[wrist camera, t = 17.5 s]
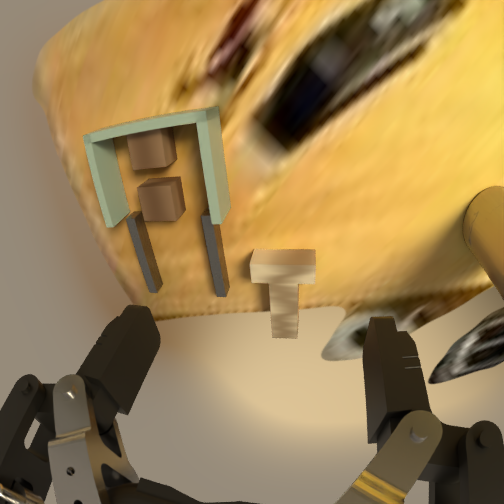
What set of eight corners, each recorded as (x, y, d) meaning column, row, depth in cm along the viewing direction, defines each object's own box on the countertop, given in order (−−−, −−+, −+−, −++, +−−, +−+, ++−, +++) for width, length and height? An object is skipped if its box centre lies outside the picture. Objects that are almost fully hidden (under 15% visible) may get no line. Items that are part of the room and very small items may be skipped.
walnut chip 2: (180, 176, 32) (170, 185, 29) (186, 209, 34) (176, 220, 31) (149, 178, 32) (137, 187, 30) (155, 209, 34) (144, 221, 32)
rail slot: (216, 207, 33) (211, 215, 31) (229, 286, 39) (226, 297, 37) (133, 211, 35) (126, 218, 33) (155, 283, 41) (149, 292, 39)
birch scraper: (315, 265, 31) (311, 339, 37) (315, 249, 34) (312, 321, 40) (249, 264, 32) (257, 336, 38) (254, 248, 35) (261, 319, 41)
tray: (218, 106, 27) (205, 110, 23) (230, 207, 33) (221, 223, 29) (103, 127, 29) (82, 135, 26) (123, 212, 35) (106, 227, 32)
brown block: (172, 122, 28) (160, 127, 26) (177, 158, 31) (166, 166, 28) (140, 128, 29) (125, 133, 27) (145, 161, 31) (132, 170, 29)
